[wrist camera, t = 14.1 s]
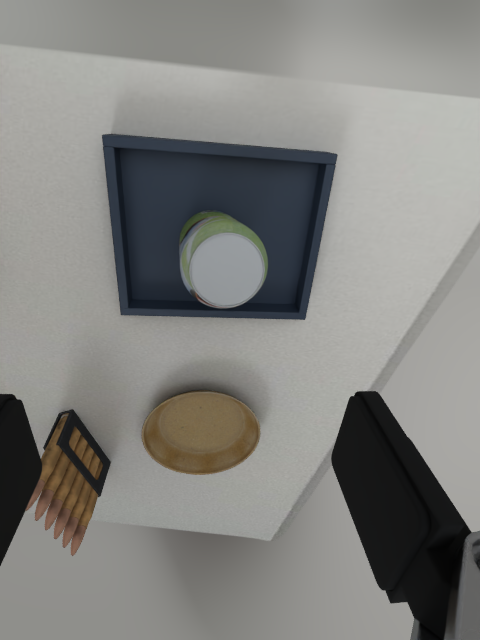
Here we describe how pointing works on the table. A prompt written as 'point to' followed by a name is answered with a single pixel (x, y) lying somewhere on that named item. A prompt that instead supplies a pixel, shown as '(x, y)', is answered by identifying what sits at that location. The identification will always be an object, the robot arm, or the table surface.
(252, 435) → the plant saucer
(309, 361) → the table surface
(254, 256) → the beverage can
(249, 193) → the tray
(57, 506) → the ammunition clip
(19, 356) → the table surface
